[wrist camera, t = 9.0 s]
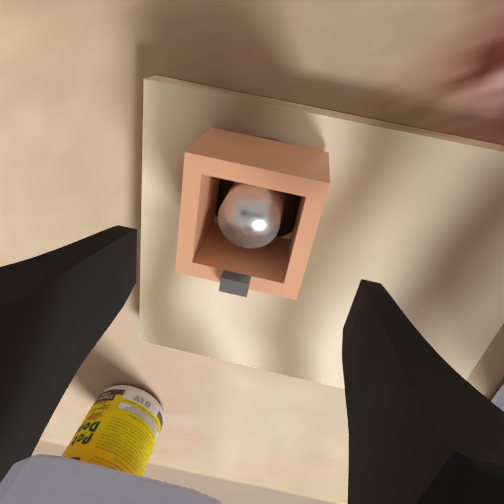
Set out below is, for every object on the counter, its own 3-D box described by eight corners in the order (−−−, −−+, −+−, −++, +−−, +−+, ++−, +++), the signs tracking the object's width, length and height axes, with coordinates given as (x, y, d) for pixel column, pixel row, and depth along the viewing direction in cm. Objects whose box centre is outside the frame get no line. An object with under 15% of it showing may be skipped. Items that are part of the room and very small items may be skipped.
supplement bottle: (119, 370, 30) (35, 513, 21) (179, 407, 31) (123, 558, 22) (88, 403, 33) (2, 542, 24) (144, 436, 34) (82, 581, 25)
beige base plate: (582, 161, 18) (602, 172, 17) (439, 393, 26) (445, 412, 25) (155, 75, 19) (143, 79, 18) (147, 325, 27) (138, 340, 26)
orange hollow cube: (328, 152, 18) (330, 189, 14) (301, 253, 20) (295, 309, 17) (211, 127, 18) (179, 156, 14) (199, 230, 21) (170, 279, 17)
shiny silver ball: (325, 140, 19) (326, 174, 15) (301, 233, 22) (296, 284, 18) (221, 119, 19) (192, 146, 15) (210, 213, 22) (183, 259, 18)
